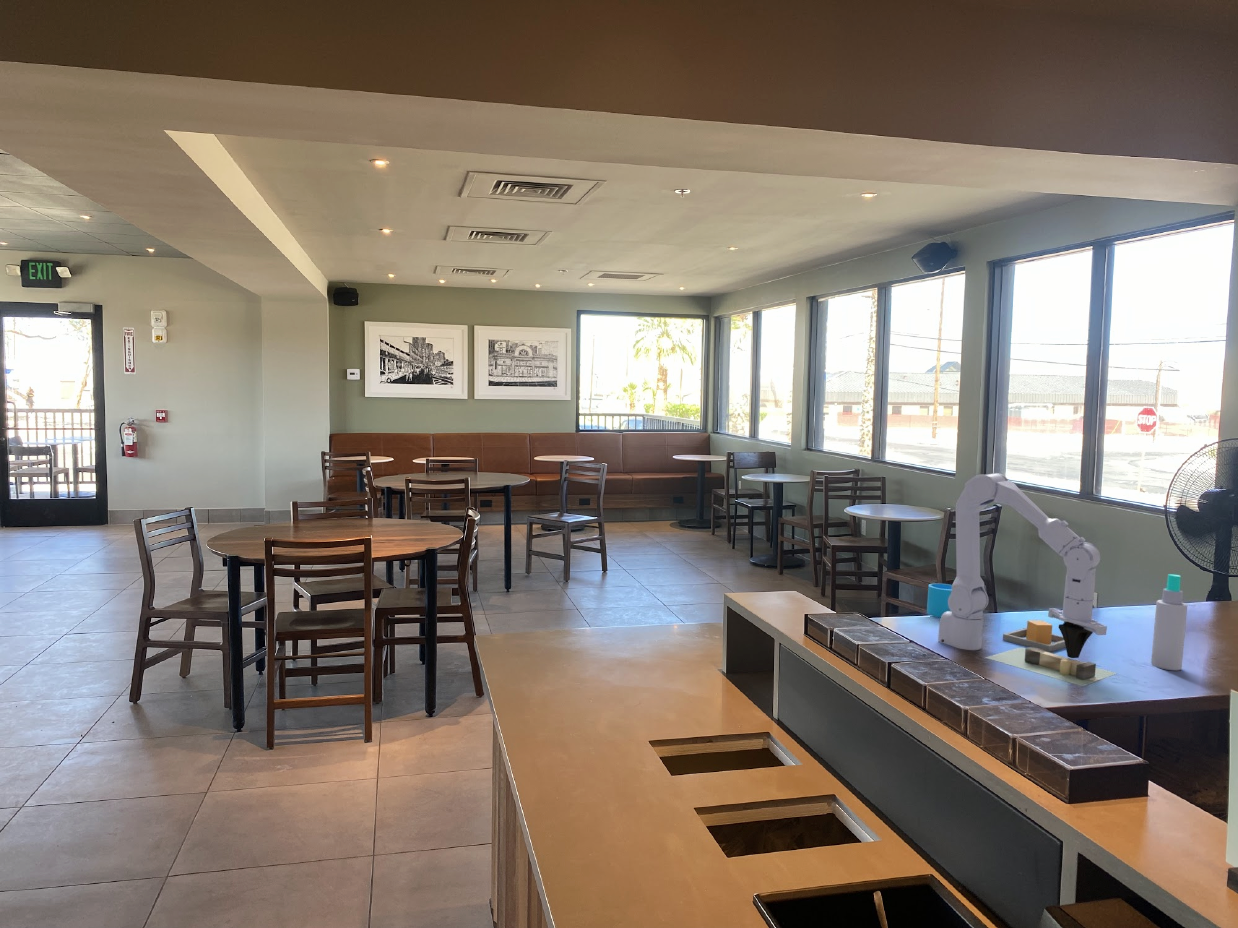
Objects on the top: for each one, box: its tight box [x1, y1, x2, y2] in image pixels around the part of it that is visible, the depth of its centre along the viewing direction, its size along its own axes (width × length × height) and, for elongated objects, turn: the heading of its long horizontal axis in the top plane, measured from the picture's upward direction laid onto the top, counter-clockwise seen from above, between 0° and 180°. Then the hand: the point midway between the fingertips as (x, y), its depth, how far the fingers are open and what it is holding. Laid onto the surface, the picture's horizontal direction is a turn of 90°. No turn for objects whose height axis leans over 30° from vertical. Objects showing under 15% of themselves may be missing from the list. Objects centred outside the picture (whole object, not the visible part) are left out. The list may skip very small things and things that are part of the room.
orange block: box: [1025, 620, 1053, 645], centre depth 205 cm, size 4×4×6 cm
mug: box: [926, 583, 952, 618], centre depth 235 cm, size 12×8×8 cm
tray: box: [1002, 627, 1066, 653], centre depth 206 cm, size 12×12×3 cm
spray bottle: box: [1150, 573, 1188, 672], centre depth 193 cm, size 6×6×22 cm
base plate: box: [984, 646, 1118, 687], centre depth 187 cm, size 22×16×4 cm
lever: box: [1025, 647, 1097, 680], centre depth 185 cm, size 14×5×3 cm, turn 34°
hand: (1073, 657), depth 184 cm, fingers closed
